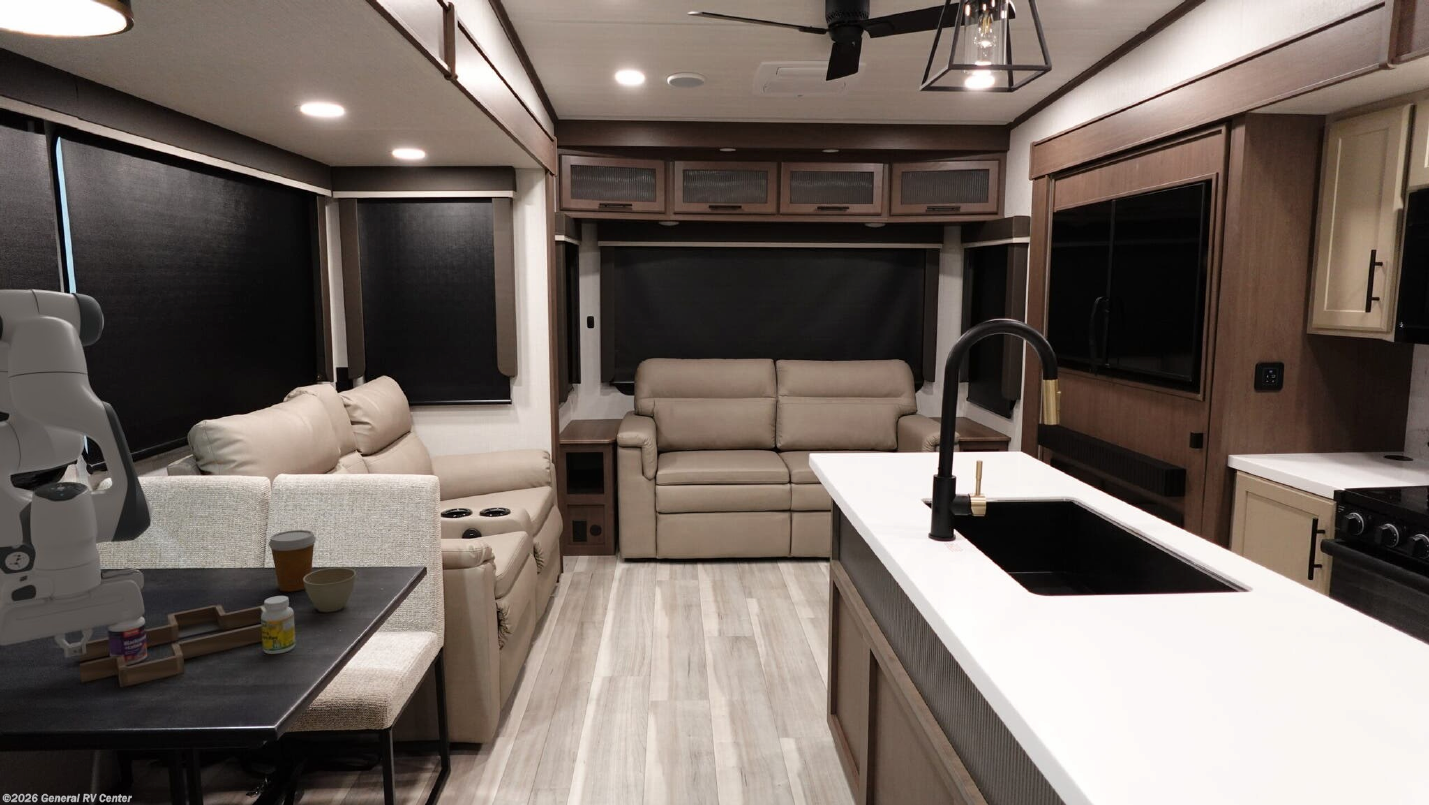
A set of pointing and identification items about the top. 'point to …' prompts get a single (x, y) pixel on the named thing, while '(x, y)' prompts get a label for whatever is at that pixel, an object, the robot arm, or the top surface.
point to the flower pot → (330, 588)
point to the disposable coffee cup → (292, 557)
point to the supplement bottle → (277, 625)
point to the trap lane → (176, 644)
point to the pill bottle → (128, 638)
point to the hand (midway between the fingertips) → (75, 654)
